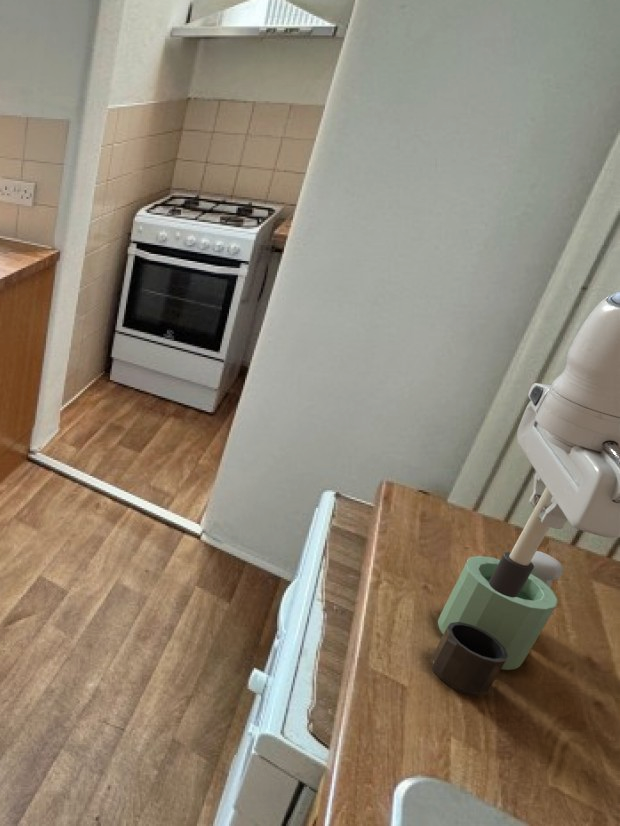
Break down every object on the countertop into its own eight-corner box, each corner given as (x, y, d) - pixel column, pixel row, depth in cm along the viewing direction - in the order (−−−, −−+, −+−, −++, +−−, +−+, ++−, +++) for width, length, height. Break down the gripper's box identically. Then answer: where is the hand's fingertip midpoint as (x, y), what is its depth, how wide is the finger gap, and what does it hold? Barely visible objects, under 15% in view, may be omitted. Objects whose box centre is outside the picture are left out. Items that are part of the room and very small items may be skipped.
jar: (510, 632, 91) (543, 573, 87) (531, 681, 84) (568, 620, 79) (431, 604, 96) (459, 547, 91) (445, 649, 88) (476, 589, 84)
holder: (480, 669, 86) (499, 634, 83) (493, 706, 81) (514, 670, 78) (426, 648, 89) (443, 614, 86) (435, 683, 84) (453, 647, 81)
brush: (514, 586, 80) (571, 483, 73) (521, 601, 77) (580, 496, 71) (485, 576, 81) (539, 475, 75) (492, 591, 79) (547, 487, 72)
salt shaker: (482, 621, 93) (516, 557, 88) (483, 599, 97) (516, 537, 92) (536, 645, 89) (574, 580, 84) (535, 622, 93) (572, 558, 88)
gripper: (686, 482, 60) (619, 585, 65) (596, 391, 76) (549, 479, 81) (595, 460, 63) (538, 560, 68) (527, 378, 79) (486, 463, 84)
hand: (544, 516), depth 74 cm, fingers closed on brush, 2 cm apart
